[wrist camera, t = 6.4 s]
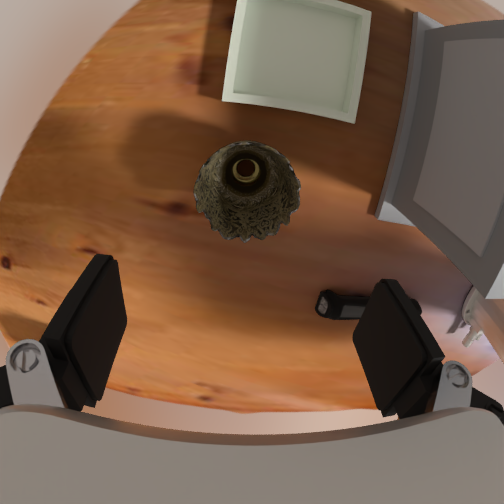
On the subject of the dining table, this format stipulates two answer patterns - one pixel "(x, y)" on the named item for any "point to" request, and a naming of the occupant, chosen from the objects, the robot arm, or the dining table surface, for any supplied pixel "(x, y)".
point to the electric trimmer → (345, 306)
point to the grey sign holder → (453, 147)
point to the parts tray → (298, 56)
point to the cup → (247, 191)
